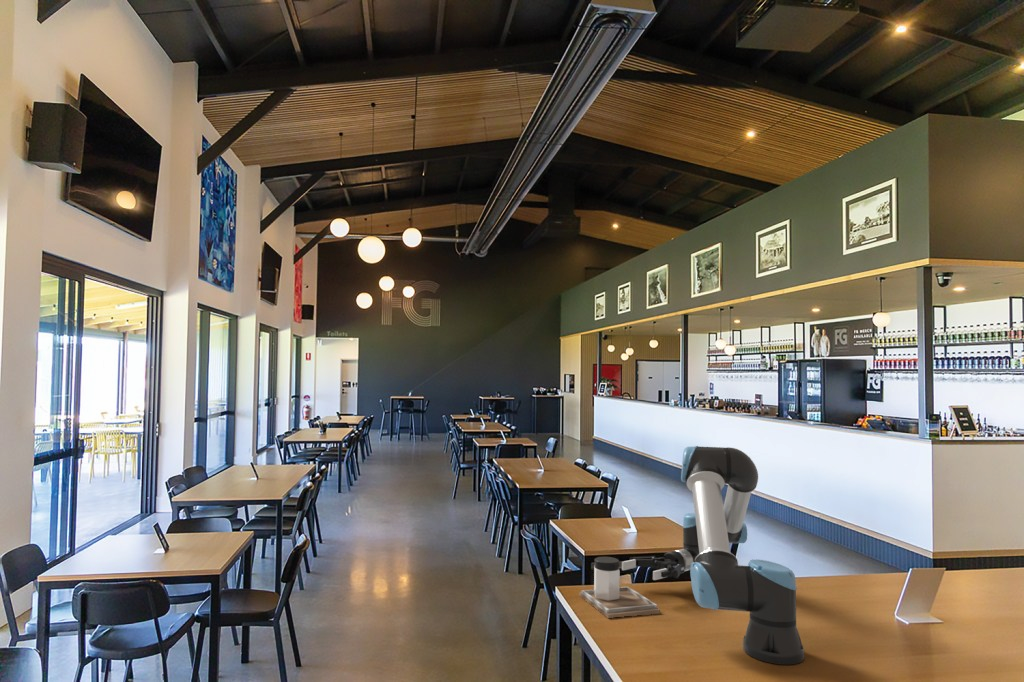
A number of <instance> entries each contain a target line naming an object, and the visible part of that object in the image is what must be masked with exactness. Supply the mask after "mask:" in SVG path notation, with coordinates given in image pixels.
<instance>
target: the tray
mask: <svg viewBox="0 0 1024 682" xmlns="http://www.w3.org/2000/svg"><path fill="white" fill-rule="evenodd" d="M578 596H579V597H580V598H581V597H582V598H581V599H583V600H584V599H585V600H586V601H587V602H586V601H585V600H584V601H585V602H586V603H587V604H589V603H590V604H591V605H592V607H593V606H594V607H595V608H596V609H597V611H598V610H599V611H600V612H601V613H600V612H599V611H598V612H599V613H600V614H601V615H603V614H604V615H605V616H606V618H607V619H608V618H612V619H614V618H613V617H622V618H624V617H623V616H632V617H638V616H637V615H642V616H649V615H650V616H651V614H652V615H660V614H661V609H660V608H658V604H656V603H655V602H653V601H652V600H650V599H648V598H647V597H645V596H644V595H643V594H641V593H639V592H638V591H636V590H635V589H633V588H631V587H630V586H621V587H620V586H619V599H616V600H611V601H606V600H601V599H596V597H595V595H594V588H593V589H584V590H583V589H582V590H580V591H579V592H578ZM590 604H589V605H590ZM591 605H590V606H591ZM594 607H593V608H594ZM595 608H594V609H595ZM596 609H595V610H596ZM604 615H603V616H604ZM605 616H604V617H605Z"/></svg>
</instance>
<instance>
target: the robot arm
mask: <svg viewBox="0 0 1024 682" xmlns="http://www.w3.org/2000/svg"><path fill="white" fill-rule="evenodd" d="M758 472H759V471H758V469H757V467H756V464H755V463H754V461H753V460H752V458H751V457H750V456H749V455H748V454H747V453H745V452H743V451H742V450H741V449H738V448H734V447H724V446H723V447H721V446H720V447H718V446H717V447H716V446H698V445H695V446H686V447H685V448H684V449H683V452H682V464H681V475H680V480H681V482H682V483H684V484H686V487H687V489H688V490H689V491H690V492H691V493H692V497H693V508H694V512H691V513H690V512H689V513H685V514H684V516H683V520H682V521H683V524H682V536H683V537H682V540H683V541H682V542H683V543H682V544H683V545H682V548H680V549H675V550H672V551H667V552H665V553H664V554H663V556H662V557H656V555H651V556H650V555H649V556H633V557H632V556H631V557H629V560H624V561H621V571H627V570H631V569H634V570H635V569H636V568H637V567H638V568H639V567H640V568H644V567H645V568H652V569H653V571H652V580H653V581H657V580H662V579H665V578H672V577H673V579H678V578H679V577H680V575H681V574H684V573H685V572H687V571H688V572H689V571H690V572H689V573H690V580H691V581H690V582H691V588H692V589H691V590H692V593H693V597H694V600H695V602H696V604H697V605H698V606H700V607H701V608H704V609H709V610H710V609H712V610H714V611H717V610H722V611H723V610H724V611H732V612H733V611H736V612H748V613H749V621H748V623H747V627H746V631H745V635H743V636H744V637H743V638H742V639H743V640H742V647H743V648H742V649H743V652H745V654H747V655H749V656H750V657H751V658H754V659H757V660H759V661H762V662H764V663H765V662H766V663H769V664H775V665H785V666H789V665H798V664H800V663H802V662H804V660H805V648H804V646H803V644H802V640H801V636H800V633H799V630H798V628H797V627H798V626H797V583H796V582H797V581H796V576H795V573H794V571H793V570H791V569H790V568H789V567H787V566H785V565H782V564H779V563H776V562H775V561H774V562H773V561H769V560H763V559H751V560H749V561H748V565H740V564H739V561H738V558H737V556H736V555H734V554H733V553H732V552H731V548H730V547H731V546H730V544H735V545H737V544H744V543H746V542H747V540H748V529H747V524H746V523H745V522H744V521H745V519H746V518H745V517H746V514H747V511H748V507H749V503H750V498H751V495H752V492H753V491H754V490H755V489H756V488H757V486H758V482H759V473H758ZM726 485H727V490H726V494H725V498H724V503H723V495H722V490H723V489H724V488H725V486H726ZM655 569H656V570H655Z"/></svg>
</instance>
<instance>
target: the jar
mask: <svg viewBox="0 0 1024 682" xmlns="http://www.w3.org/2000/svg"><path fill="white" fill-rule="evenodd" d="M593 568H594V569H593V572H594V573H593V576H594V577H593V578H594V579H593V580H594V581H593V589H594V595H595V597H596V599H601V600H606V601H611V600H616V599H619V587H620V576H621V575H620V573H621V572H620V560H619V559H618V558H616V557H611V556H597V557H595V558H594V565H593Z"/></svg>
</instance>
